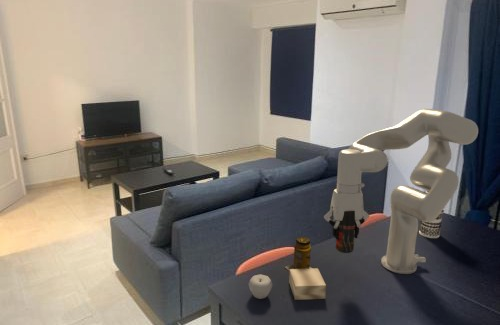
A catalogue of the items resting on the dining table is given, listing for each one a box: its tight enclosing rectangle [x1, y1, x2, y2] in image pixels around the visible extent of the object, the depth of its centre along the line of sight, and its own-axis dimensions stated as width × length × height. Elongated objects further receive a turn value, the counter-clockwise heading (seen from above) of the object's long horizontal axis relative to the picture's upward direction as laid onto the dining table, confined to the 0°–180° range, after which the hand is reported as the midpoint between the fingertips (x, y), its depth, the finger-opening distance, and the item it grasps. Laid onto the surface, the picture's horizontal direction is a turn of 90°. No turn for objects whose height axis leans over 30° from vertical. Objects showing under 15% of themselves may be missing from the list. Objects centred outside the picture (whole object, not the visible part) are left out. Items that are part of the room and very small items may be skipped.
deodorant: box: [335, 211, 356, 254], centre depth 120 cm, size 6×6×15 cm
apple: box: [248, 273, 273, 300], centre depth 116 cm, size 8×8×7 cm
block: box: [288, 267, 327, 301], centre depth 120 cm, size 10×10×5 cm
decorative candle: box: [418, 190, 446, 239], centre depth 159 cm, size 9×9×25 cm
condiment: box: [284, 236, 312, 272], centre depth 131 cm, size 7×8×12 cm
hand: (345, 236), depth 121 cm, fingers closed on deodorant, 5 cm apart
